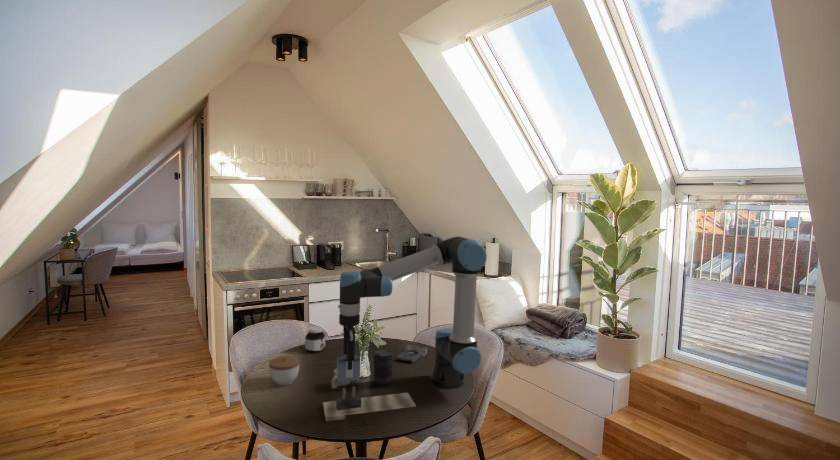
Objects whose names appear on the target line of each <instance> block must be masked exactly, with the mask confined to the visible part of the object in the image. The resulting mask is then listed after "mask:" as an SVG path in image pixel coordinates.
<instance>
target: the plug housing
mask: <svg viewBox="0 0 840 460" xmlns="http://www.w3.org/2000/svg"><path fill="white" fill-rule="evenodd" d="M354 358H355V360H354V361H353V377H349V378H346V361H345V359H347V356H344V355H338V356H337V357H336V369H337V380H338V382H341V381H349V382H350V381H352V382H353V381H360V380H361V379H360V378H361V358H360V356H359V354H355V357H354Z"/></svg>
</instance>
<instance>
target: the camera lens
mask: <svg viewBox="0 0 840 460" xmlns="http://www.w3.org/2000/svg"><path fill="white" fill-rule="evenodd" d="M393 364H394V354H393V352H392V350H388V349H380V350H379V349H378V350H376V351H375V352H374V354H373V366H374V367H373V382H374V383H373V384H374V386H376V387H380V388H386V387H390V386H392V384H393V372H394V367H393Z"/></svg>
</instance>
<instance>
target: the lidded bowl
mask: <svg viewBox="0 0 840 460" xmlns="http://www.w3.org/2000/svg"><path fill="white" fill-rule="evenodd" d="M300 361H301V360H300V359H299V357H296V356H292V355H283V356H278V357H275V358H272V359H270V360H269V362H268V366H269V367H268V368H269V375H270V378H271V379H272V381H274V382H275V384H276V385H278V386H287V385H290V384H292V383H294V381H295V380H296V379H297V377H298V376H299V371H300V364H301V363H300Z"/></svg>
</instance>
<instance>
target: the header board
mask: <svg viewBox="0 0 840 460" xmlns="http://www.w3.org/2000/svg"><path fill="white" fill-rule="evenodd" d="M346 392H347V391H346V387H342V397H340V398H336V399H335V400H330V401H323V402H322V409H323V415H324V419H325V421H326V422H333V421H340V420H347V417H346V416H351V415H358V414H366V413H367V414H368V413H374V412H375V413H376V412H384V411H390V410H397V409H398V410H399V409H407V408H413V407H414V408H415V407H417V405H416V403H415V402H414V400H413V398H412V397H411V395H410V394H409V392H400V393H394V394H393V393H391V394H384V395H375V396H365V397H361V395H357V396H356V386H351V396H349V397H346V395H347V393H346Z"/></svg>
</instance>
